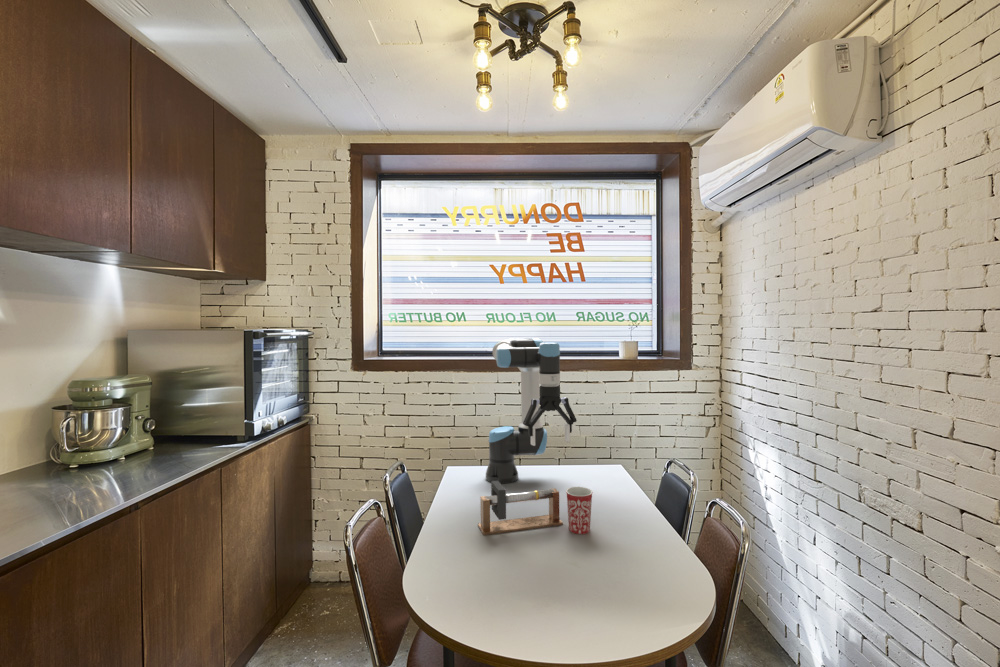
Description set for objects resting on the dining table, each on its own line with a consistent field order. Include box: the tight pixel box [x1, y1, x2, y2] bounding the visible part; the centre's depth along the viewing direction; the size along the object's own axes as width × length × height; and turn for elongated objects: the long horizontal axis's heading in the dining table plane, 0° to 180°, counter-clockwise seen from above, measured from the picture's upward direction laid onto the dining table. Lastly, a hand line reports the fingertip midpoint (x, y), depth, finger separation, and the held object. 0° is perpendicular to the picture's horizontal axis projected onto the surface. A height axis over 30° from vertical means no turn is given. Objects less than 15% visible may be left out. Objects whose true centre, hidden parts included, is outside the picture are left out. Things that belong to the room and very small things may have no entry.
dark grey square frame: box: [490, 481, 507, 521], centre depth 166 cm, size 2×10×10 cm, turn 16°
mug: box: [565, 486, 594, 535], centre depth 166 cm, size 13×9×14 cm
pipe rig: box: [477, 488, 564, 536], centre depth 168 cm, size 29×8×12 cm, turn 106°
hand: (550, 443), depth 173 cm, fingers open, 13 cm apart
